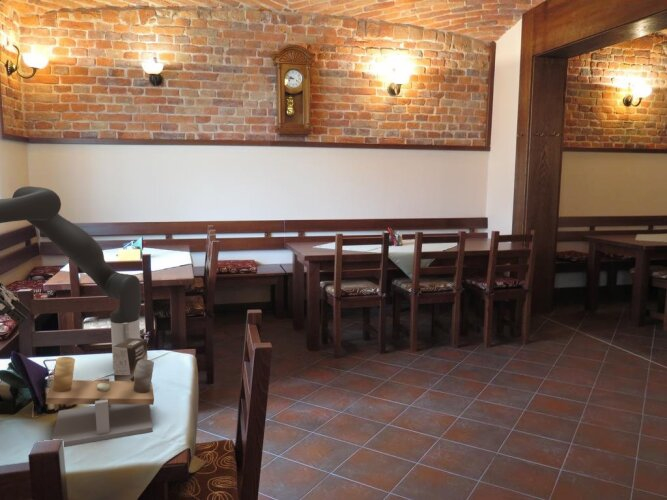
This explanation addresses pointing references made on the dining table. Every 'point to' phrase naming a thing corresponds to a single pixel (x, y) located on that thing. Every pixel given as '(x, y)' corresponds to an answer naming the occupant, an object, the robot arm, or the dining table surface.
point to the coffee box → (128, 358)
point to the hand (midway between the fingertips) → (25, 317)
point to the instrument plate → (100, 386)
